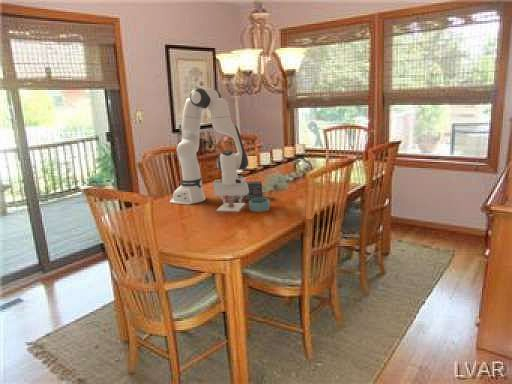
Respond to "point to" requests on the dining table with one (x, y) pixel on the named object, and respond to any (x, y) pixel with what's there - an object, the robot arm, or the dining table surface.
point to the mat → (231, 211)
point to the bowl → (259, 204)
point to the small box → (254, 190)
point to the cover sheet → (226, 207)
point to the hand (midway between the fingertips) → (232, 202)
